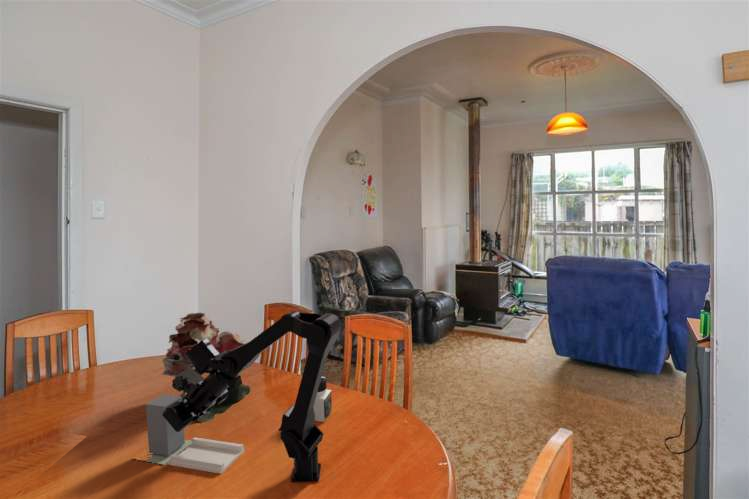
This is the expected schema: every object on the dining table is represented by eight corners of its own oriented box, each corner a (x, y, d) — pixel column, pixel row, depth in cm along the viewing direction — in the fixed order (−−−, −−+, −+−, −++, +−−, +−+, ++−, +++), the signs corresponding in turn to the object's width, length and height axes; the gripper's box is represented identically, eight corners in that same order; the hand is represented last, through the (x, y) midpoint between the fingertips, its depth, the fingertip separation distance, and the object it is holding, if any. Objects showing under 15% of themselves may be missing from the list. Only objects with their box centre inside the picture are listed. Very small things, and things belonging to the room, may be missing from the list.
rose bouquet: (260, 386, 153) (257, 304, 150) (208, 425, 125) (203, 326, 122) (200, 379, 160) (195, 301, 157) (137, 415, 132) (131, 321, 129)
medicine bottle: (324, 422, 125) (323, 383, 124) (302, 420, 127) (301, 381, 126) (332, 411, 132) (331, 374, 131) (310, 409, 134) (309, 372, 133)
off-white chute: (244, 451, 111) (244, 443, 111) (221, 473, 101) (220, 465, 101) (196, 443, 115) (195, 436, 115) (169, 464, 105) (168, 457, 105)
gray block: (184, 443, 113) (182, 396, 112) (168, 455, 107) (165, 406, 106) (166, 440, 115) (163, 394, 114) (149, 452, 109) (145, 404, 108)
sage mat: (194, 442, 115) (194, 441, 115) (164, 465, 105) (164, 464, 105) (163, 437, 118) (163, 436, 118) (131, 459, 108) (131, 458, 108)
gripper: (216, 349, 115) (185, 385, 119) (166, 375, 98) (131, 416, 101) (243, 380, 114) (210, 415, 118) (197, 411, 96) (160, 451, 100)
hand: (180, 422), depth 109 cm, fingers closed
